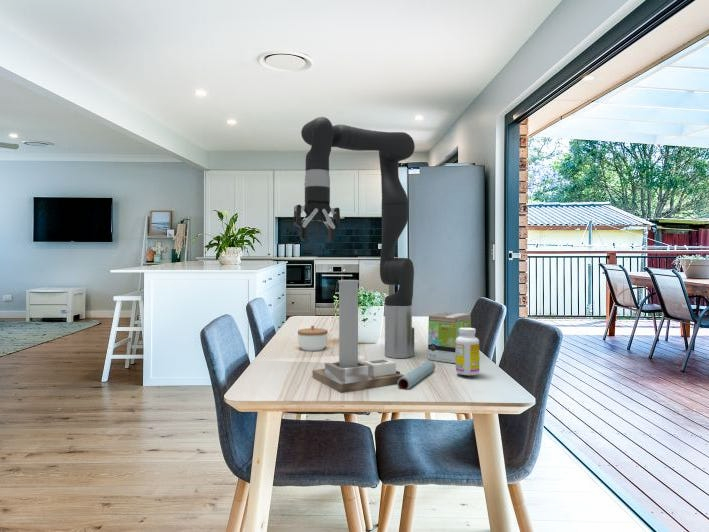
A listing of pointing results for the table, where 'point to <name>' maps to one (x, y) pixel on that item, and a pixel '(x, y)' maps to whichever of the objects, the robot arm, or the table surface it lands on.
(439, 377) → the table surface
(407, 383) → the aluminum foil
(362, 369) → the desk organizer tray
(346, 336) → the tube
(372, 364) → the white hollow block
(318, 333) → the lidded jar
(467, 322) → the tea box
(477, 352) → the supplement bottle
